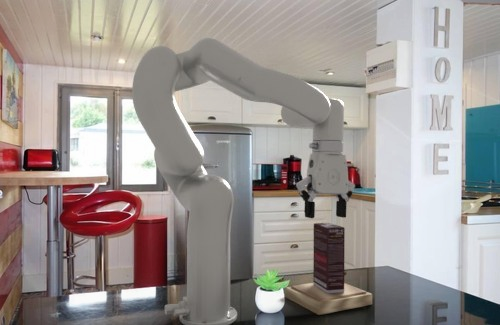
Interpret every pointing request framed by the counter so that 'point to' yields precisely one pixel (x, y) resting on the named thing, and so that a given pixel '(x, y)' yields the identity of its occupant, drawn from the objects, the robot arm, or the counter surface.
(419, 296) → the counter surface
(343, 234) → the supplement box
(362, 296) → the oak stand
